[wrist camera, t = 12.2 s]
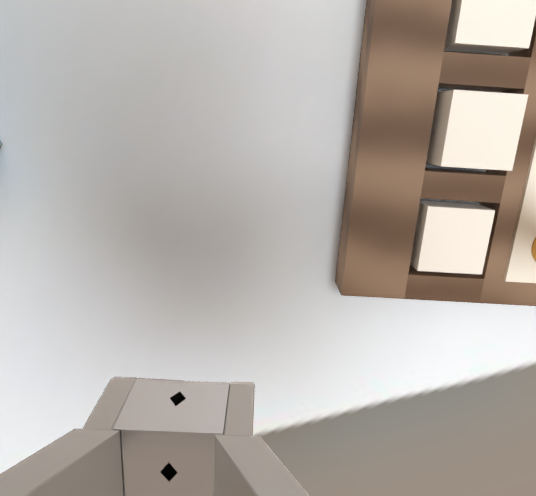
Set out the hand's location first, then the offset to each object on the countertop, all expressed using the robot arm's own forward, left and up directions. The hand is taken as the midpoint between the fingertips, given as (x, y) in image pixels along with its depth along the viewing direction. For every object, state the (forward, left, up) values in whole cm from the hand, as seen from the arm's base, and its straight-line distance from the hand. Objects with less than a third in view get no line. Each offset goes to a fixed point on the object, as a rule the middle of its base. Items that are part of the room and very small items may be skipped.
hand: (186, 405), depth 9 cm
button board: (-6, +18, -27) cm, 33 cm away
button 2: (-14, +16, -26) cm, 34 cm away
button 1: (+2, +16, -26) cm, 31 cm away
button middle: (-6, +16, -25) cm, 31 cm away
